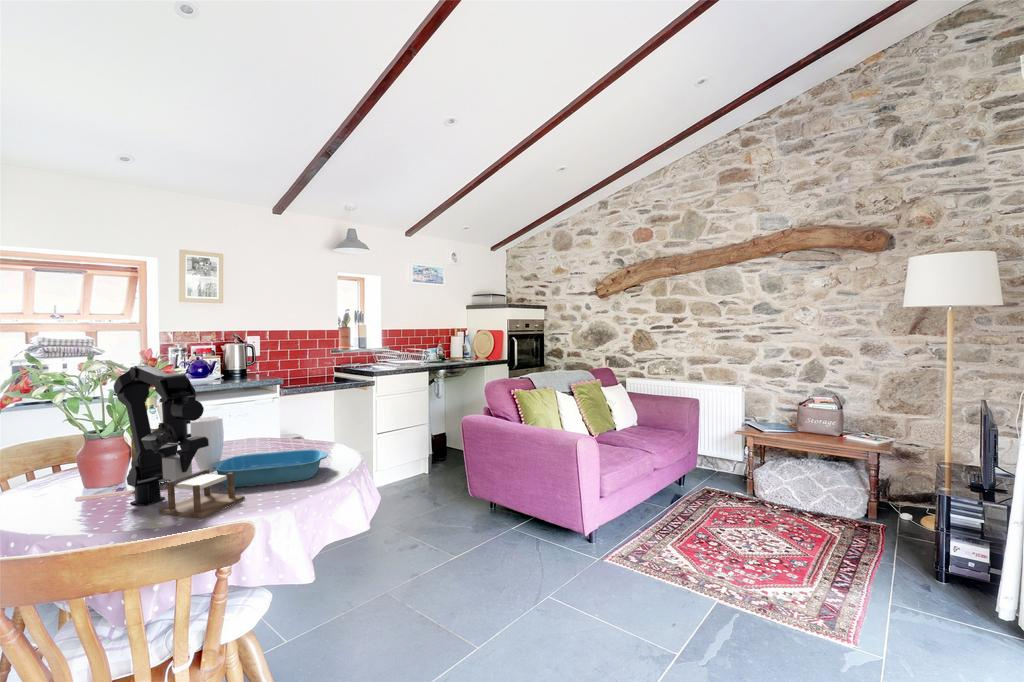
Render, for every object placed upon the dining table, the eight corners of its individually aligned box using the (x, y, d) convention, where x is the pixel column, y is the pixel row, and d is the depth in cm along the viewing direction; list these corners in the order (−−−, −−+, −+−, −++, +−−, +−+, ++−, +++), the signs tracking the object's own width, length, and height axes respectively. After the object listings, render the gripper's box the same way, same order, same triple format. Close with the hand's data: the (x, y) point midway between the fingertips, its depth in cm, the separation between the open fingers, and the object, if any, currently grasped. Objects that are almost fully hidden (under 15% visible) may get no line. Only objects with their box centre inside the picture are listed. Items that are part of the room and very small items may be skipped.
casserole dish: (329, 463, 192) (328, 445, 192) (326, 481, 171) (326, 460, 171) (222, 475, 181) (221, 455, 181) (204, 495, 160) (203, 473, 160)
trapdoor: (176, 488, 145) (176, 484, 145) (206, 477, 155) (206, 473, 155) (197, 490, 143) (197, 486, 143) (226, 479, 153) (226, 475, 153)
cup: (188, 480, 176) (185, 419, 175) (221, 473, 183) (218, 414, 182) (196, 486, 168) (192, 423, 167) (230, 479, 175) (227, 418, 174)
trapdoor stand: (159, 513, 144) (157, 482, 144) (204, 495, 159) (203, 467, 158) (202, 518, 140) (200, 486, 139) (244, 499, 154) (243, 470, 154)
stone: (163, 478, 143) (161, 458, 142) (179, 473, 147) (178, 453, 147) (175, 480, 141) (174, 459, 141) (192, 474, 146) (191, 454, 146)
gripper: (122, 422, 139) (125, 477, 139) (171, 425, 133) (174, 482, 134) (161, 415, 149) (164, 466, 150) (208, 417, 144) (211, 470, 144)
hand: (177, 471), depth 144 cm, fingers closed on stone, 5 cm apart
